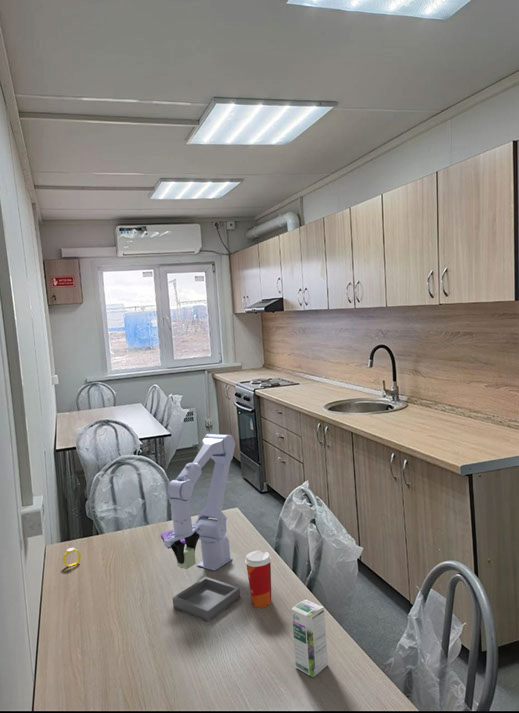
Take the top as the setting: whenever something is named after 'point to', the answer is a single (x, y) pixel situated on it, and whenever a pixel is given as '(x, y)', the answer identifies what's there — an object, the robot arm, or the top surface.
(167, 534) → the sponges
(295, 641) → the syrup box
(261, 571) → the pill bottle
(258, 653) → the top surface
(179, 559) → the robot arm
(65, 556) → the gold ring
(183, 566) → the green block
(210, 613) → the tray
